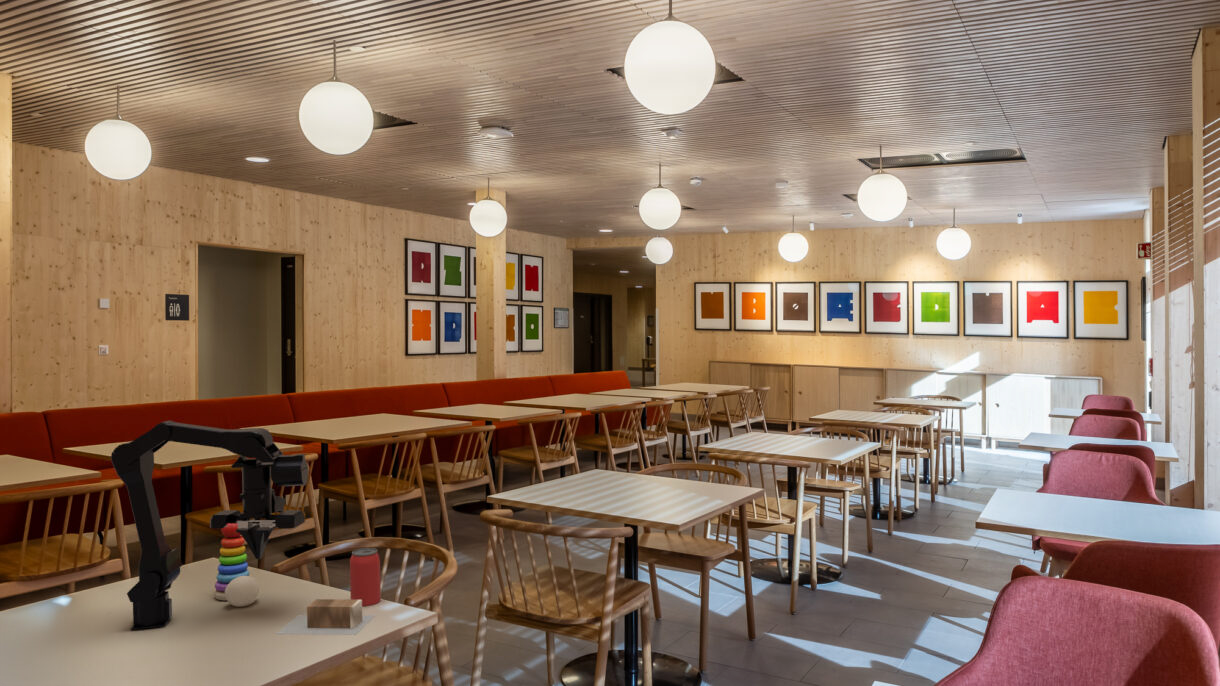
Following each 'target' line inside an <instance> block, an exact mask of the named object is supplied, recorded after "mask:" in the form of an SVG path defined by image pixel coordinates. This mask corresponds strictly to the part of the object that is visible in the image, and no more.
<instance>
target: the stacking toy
mask: <svg viewBox="0 0 1220 686" xmlns="http://www.w3.org/2000/svg"><path fill="white" fill-rule="evenodd" d="M236 529H238V523H227V525H226V526H225V527H224V528H223V529H220V531H221V533H222V535H223V536H224V537H223V538H222V539H221V541H220V544H221V546H222V547H221V548H220V549H219V553H220V556H219V558H218V561H219V565H218V566H217V571H218V573H217V574H216V580H217V581H216V582H215V584H214V589H215V591H214V593H213V595H214V598H215V599H217V600H219V601H228V600H227V599H226V598H225V588H226V587H227V585H228V584H229V583H230V582H231V581H232V580H233V579H235V578H237V577H240V576H250V571H249V569H248V567H249V564H248V562H247V559H248V555H247V553H245V552H246V546H245V545H244V544H245V542H246V541H245V540H244V538H243V537H242V535H241V534H240V533H239V532H236Z"/></svg>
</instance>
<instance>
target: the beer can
mask: <svg viewBox="0 0 1220 686" xmlns="http://www.w3.org/2000/svg"><path fill="white" fill-rule="evenodd" d="M380 559H381V558H380V555H379V553H378V549H377V548H373V547H362V548H357V549H355V550H353V551H352V552H351V557H350V558H349V579H350V580H349V584H350V585H349V588H350V600H362V608H363V607H370V606H373V605H377V604H378V603H380V602H381V599H382V597H381V596H382V593H381V592H382V591H381V560H380Z"/></svg>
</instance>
